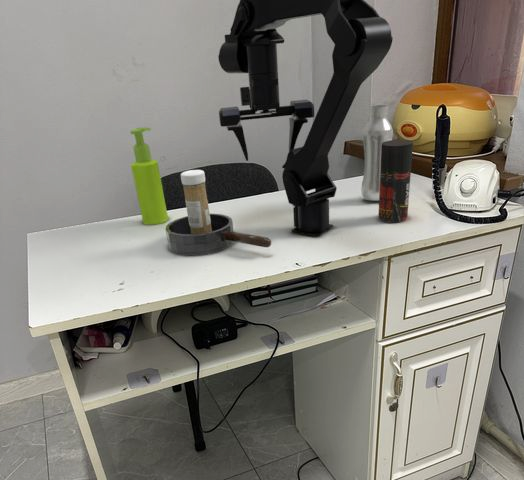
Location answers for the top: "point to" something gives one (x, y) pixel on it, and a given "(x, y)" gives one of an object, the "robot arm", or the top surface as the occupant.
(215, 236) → the pan
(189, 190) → the sprinkles bottle
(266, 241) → the pan handle
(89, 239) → the top surface
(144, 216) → the soap dispenser
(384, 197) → the deodorant
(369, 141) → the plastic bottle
